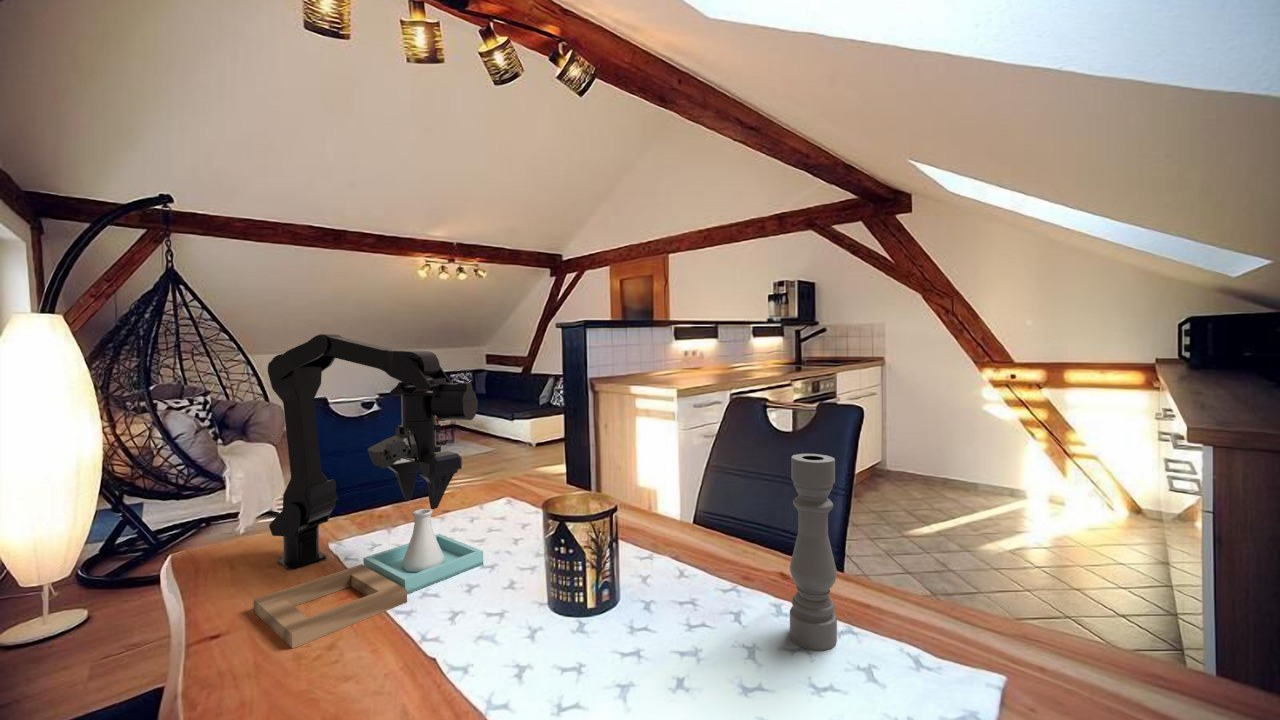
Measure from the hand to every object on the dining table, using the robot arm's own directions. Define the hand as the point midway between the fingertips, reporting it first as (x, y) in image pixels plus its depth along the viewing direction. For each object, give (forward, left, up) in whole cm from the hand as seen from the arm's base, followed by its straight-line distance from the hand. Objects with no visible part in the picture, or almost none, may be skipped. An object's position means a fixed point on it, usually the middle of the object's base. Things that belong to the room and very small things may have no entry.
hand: (420, 504), depth 95 cm
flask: (0, 0, -12) cm, 12 cm away
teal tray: (0, 0, -12) cm, 12 cm away
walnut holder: (+2, -16, -12) cm, 20 cm away
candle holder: (+65, +21, -12) cm, 70 cm away
